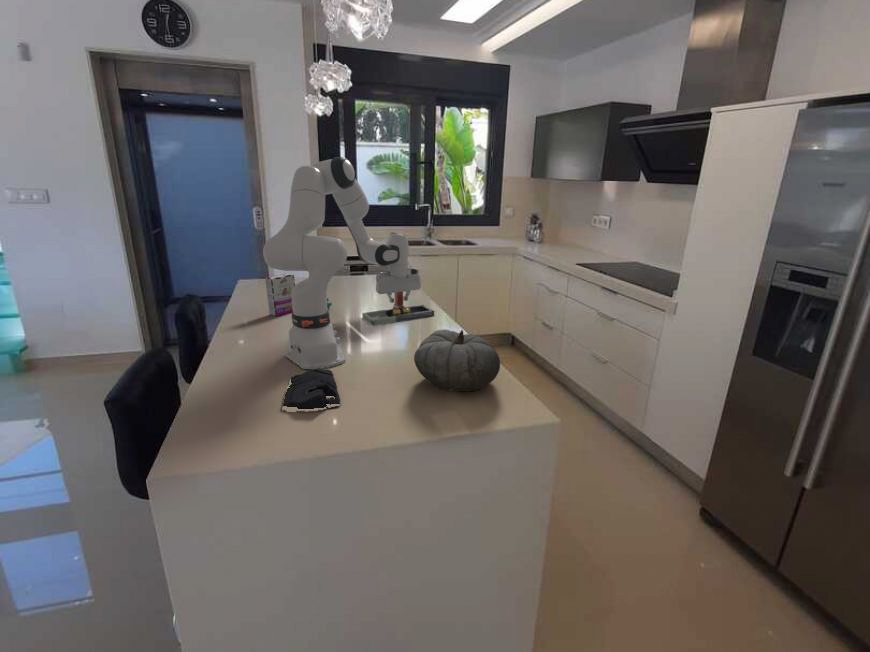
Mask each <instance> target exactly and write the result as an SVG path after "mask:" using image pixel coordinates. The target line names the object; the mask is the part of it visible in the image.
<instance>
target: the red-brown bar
mask: <svg viewBox="0 0 870 652" xmlns="http://www.w3.org/2000/svg"><path fill="white" fill-rule="evenodd" d="M403 296H404V291H403V292H395V293H394V303H393V308H394V309H397V308H404V307H405V305H404V300H403Z"/></svg>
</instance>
